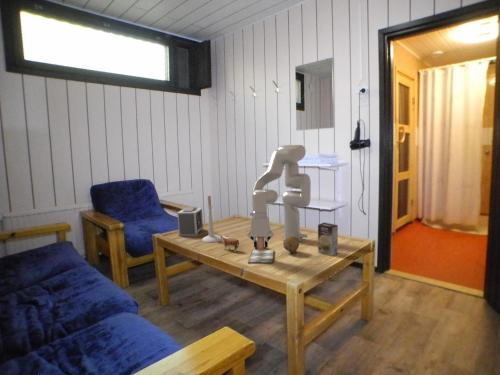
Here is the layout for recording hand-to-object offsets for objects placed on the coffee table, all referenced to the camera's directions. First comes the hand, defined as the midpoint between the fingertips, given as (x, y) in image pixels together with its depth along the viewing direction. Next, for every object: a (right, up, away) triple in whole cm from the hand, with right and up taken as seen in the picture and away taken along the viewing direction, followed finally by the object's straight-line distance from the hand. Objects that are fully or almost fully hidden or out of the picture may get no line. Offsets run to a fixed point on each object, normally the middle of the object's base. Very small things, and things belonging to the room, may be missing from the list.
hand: (260, 248), depth 164 cm
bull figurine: (-18, -5, +18) cm, 25 cm away
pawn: (0, -1, 0) cm, 1 cm away
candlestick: (-31, -2, +39) cm, 50 cm away
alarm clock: (-48, -1, +59) cm, 76 cm away
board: (+1, -6, +3) cm, 7 cm away
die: (0, -4, +18) cm, 19 cm away
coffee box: (+37, -4, +6) cm, 38 cm away
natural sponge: (+17, -4, +8) cm, 20 cm away
